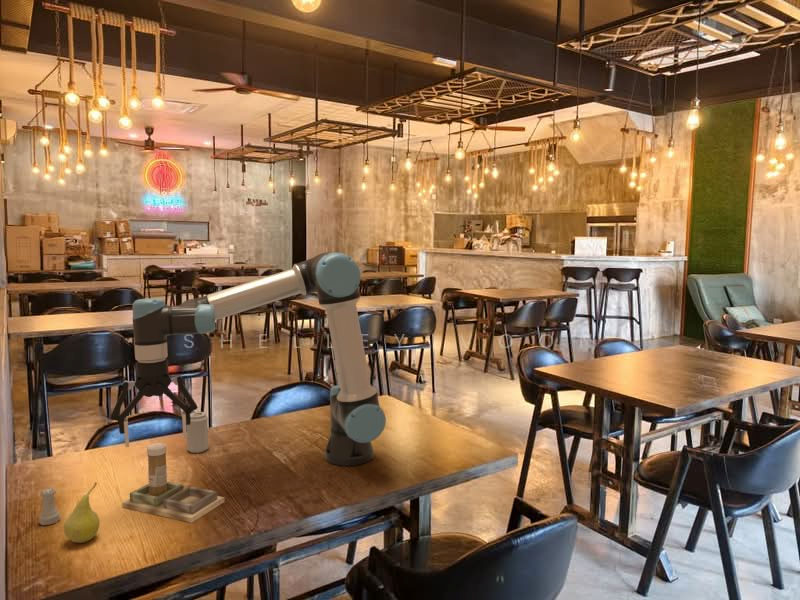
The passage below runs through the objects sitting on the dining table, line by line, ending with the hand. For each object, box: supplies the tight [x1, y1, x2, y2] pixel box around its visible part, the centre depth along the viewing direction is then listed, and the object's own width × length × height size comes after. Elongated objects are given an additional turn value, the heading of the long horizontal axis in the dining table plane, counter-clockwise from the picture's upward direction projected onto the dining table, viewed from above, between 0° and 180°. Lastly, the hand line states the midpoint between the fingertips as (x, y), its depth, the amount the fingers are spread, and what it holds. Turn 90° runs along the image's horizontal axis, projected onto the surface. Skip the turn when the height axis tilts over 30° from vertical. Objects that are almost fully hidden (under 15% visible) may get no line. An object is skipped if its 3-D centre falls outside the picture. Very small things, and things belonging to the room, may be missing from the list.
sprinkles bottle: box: [146, 442, 168, 497], centre depth 145 cm, size 5×5×14 cm
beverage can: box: [186, 411, 209, 454], centre depth 181 cm, size 6×6×12 cm
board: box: [121, 481, 226, 524], centre depth 144 cm, size 22×12×3 cm, turn 69°
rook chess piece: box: [38, 486, 61, 526], centre depth 134 cm, size 4×4×8 cm
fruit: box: [63, 481, 100, 544], centre depth 126 cm, size 7×8×12 cm
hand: (156, 441), depth 144 cm, fingers open, 13 cm apart
